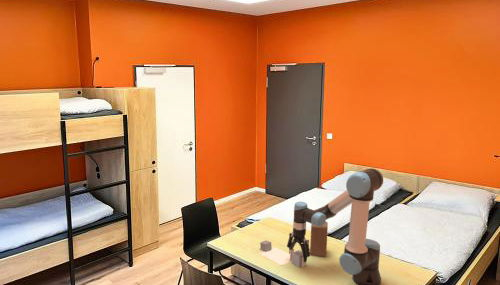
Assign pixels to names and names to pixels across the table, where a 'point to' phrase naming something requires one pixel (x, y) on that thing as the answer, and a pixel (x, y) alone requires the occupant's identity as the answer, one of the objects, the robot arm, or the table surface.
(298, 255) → the slate cube
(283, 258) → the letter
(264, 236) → the table surface
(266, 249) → the grey cube
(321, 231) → the wooden block
